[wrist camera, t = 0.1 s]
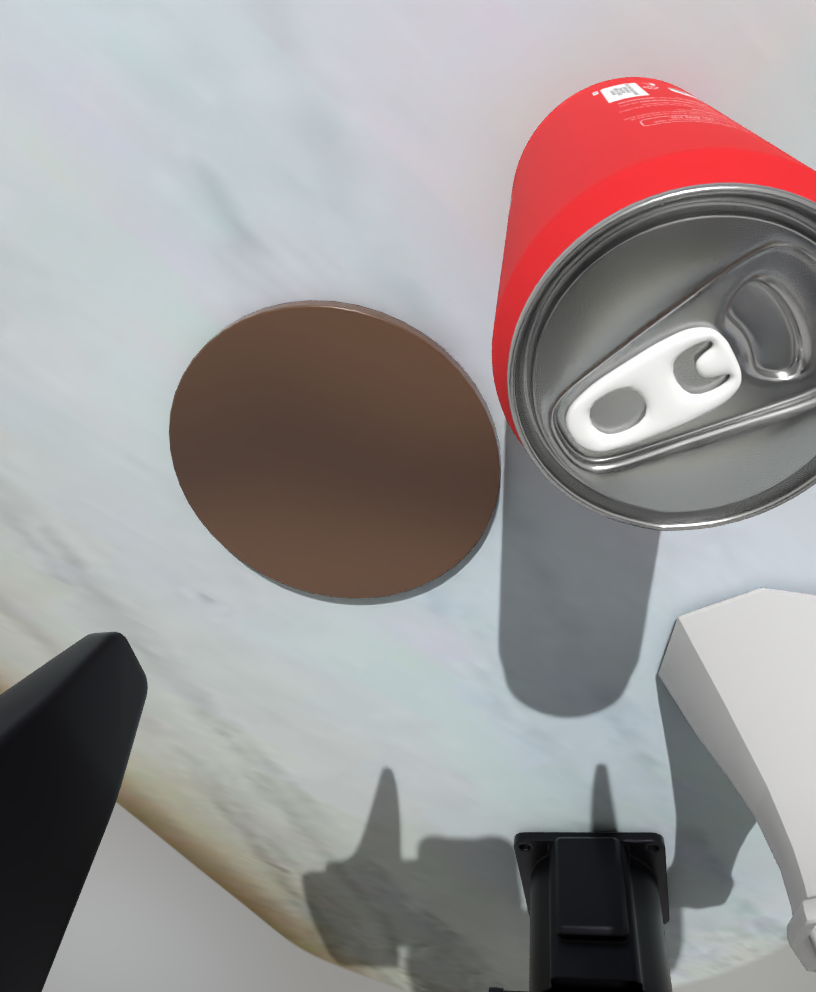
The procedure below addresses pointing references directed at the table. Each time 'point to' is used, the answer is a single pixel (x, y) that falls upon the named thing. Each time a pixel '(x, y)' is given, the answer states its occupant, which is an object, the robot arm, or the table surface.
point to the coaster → (335, 449)
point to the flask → (759, 724)
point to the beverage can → (660, 310)
